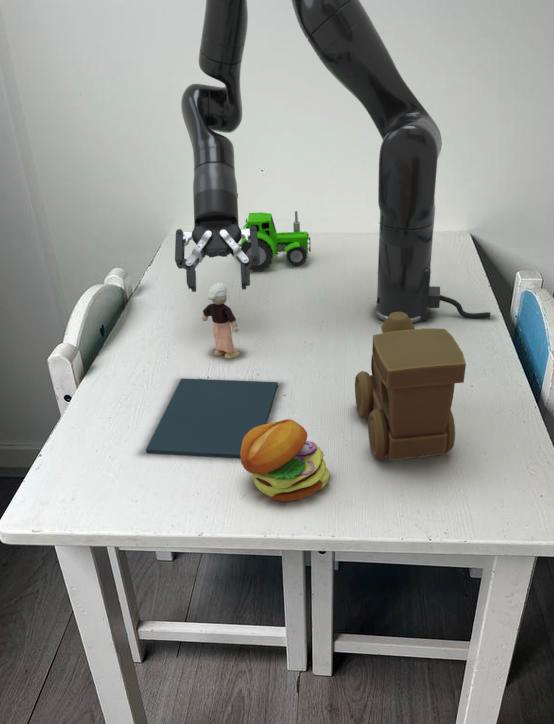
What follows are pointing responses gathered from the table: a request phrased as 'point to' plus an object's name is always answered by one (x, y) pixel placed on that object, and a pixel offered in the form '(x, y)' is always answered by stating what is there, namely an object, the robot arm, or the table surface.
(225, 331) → the grandmother figurine
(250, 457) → the cheeseburger
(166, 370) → the table surface
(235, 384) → the mat
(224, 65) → the robot arm
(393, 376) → the wooden toy train
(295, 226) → the toy tractor
